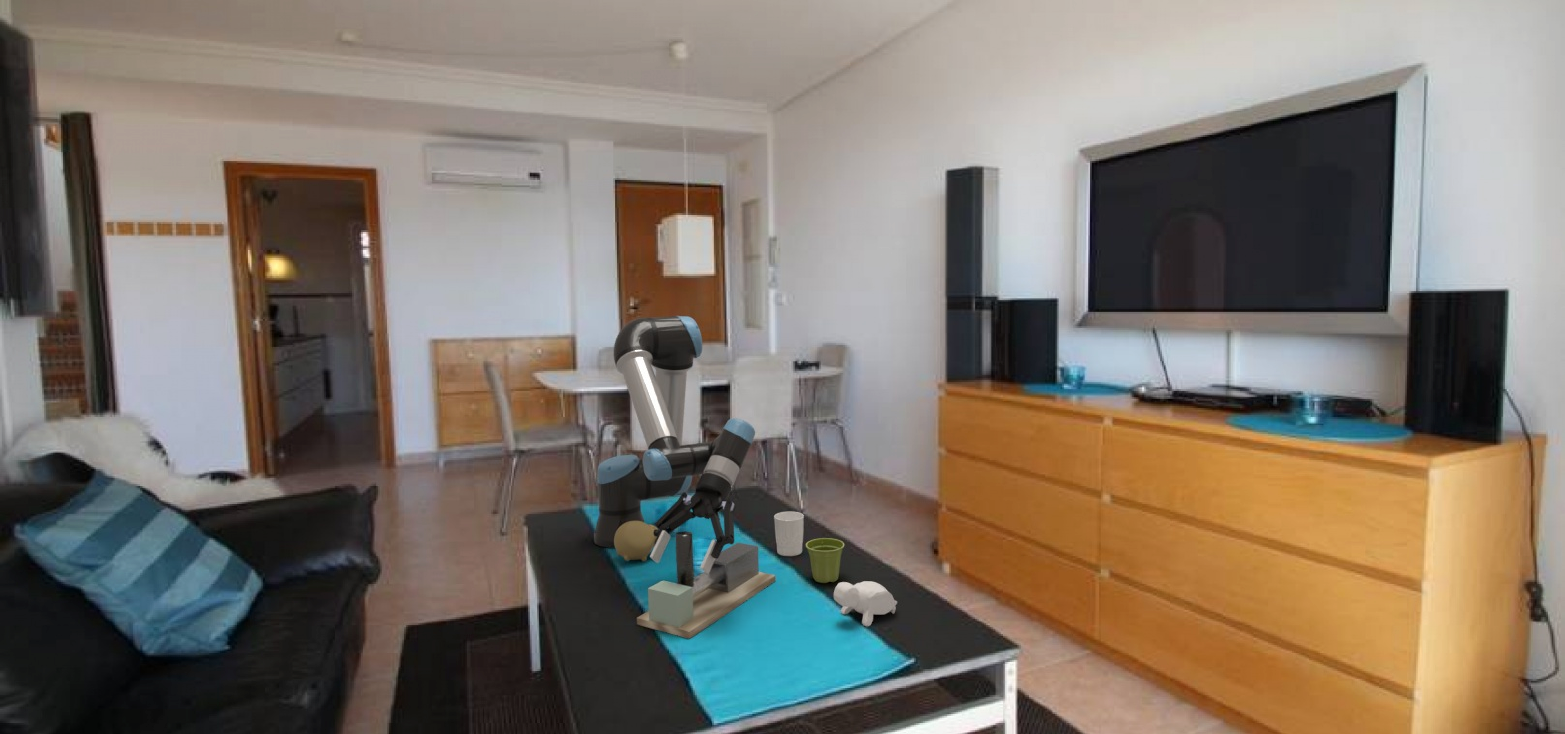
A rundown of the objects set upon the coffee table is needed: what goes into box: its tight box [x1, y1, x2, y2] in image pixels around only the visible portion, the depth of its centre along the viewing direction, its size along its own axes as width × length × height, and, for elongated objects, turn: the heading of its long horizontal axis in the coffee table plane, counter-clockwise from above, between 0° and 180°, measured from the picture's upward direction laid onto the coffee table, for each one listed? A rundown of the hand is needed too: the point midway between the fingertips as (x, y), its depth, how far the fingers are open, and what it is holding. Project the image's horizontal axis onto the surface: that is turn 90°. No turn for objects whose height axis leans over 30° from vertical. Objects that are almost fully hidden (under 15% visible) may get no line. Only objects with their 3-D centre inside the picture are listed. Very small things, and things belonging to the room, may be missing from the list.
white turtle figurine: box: [833, 580, 898, 628], centre depth 164 cm, size 9×8×15 cm
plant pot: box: [805, 537, 845, 584], centre depth 185 cm, size 9×9×9 cm
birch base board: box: [636, 571, 776, 640], centre depth 174 cm, size 14×34×2 cm, turn 149°
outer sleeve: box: [710, 542, 760, 593], centre depth 182 cm, size 6×13×7 cm, turn 149°
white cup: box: [773, 511, 805, 557], centre depth 204 cm, size 8×8×10 cm
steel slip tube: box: [675, 530, 726, 597], centre depth 169 cm, size 4×21×15 cm, turn 149°
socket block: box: [647, 580, 694, 628], centre depth 161 cm, size 8×5×7 cm, turn 59°
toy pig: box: [614, 521, 660, 563], centre depth 201 cm, size 10×12×11 cm
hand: (678, 565), depth 163 cm, fingers open, 13 cm apart
